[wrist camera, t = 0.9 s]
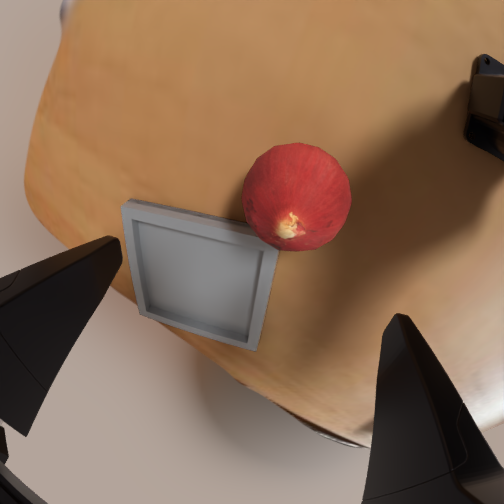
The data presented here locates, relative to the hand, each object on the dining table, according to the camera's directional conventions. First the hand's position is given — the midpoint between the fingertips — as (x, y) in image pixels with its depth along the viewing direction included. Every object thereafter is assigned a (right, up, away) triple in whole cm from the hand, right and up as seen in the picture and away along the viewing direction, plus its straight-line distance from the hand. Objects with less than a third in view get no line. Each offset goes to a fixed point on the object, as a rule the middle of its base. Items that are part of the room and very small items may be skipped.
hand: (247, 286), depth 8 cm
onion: (+3, +6, +10) cm, 12 cm away
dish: (-5, -1, +17) cm, 18 cm away
